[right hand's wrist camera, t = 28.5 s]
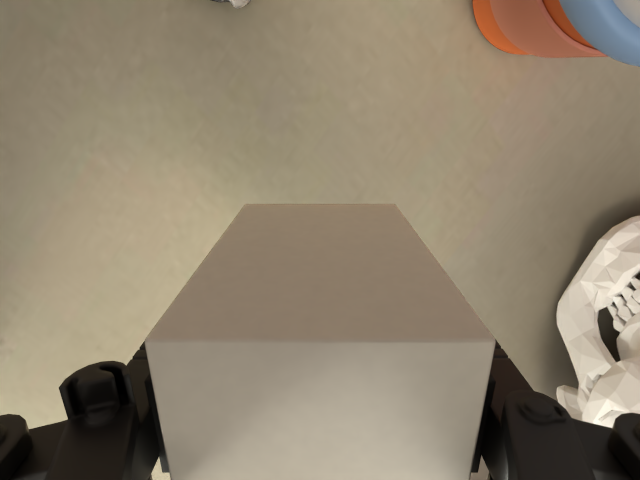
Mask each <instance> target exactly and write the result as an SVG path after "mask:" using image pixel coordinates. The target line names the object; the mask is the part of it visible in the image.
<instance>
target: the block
mask: <svg viewBox="0 0 640 480" xmlns="http://www.w3.org/2000/svg"><path fill="white" fill-rule="evenodd" d="M495 343H496V341H495V338H494V337H493V335H492V334H491V333H490V331H489V330H488V329H487V327H486V326H485V325H484V323H483V322H482V321H481V319H480V318H479V317H478V315H477V314H476V313H475V311H474V310H473V308H472V307H471V306H470V304H469V303H468V302H467V300H466V299H465V298H464V296H463V295H462V294H461V292H460V291H459V290H458V288H457V287H456V286H455V284H454V283H453V282H452V280H451V279H450V277H449V276H448V275H447V273H446V272H445V271H444V269H443V268H442V267H441V265H440V264H439V263H438V261H437V260H436V259H435V257H434V256H433V255H432V253H431V252H430V251H429V249H428V248H427V247H426V245H425V244H424V242H423V241H422V240H421V238H420V237H419V236H418V234H417V233H416V232H415V230H414V229H413V228H412V226H411V225H410V224H409V222H408V221H407V220H406V218H405V217H404V216H403V214H402V213H401V212H400V210H399V209H398V207H397V206H396V205H395V204H245V205H244V206H243V208H242V209H241V210H240V212H239V213H238V214H237V216H236V217H235V219H234V220H233V221H232V223H231V224H230V225H229V227H228V228H227V229H226V231H225V232H224V233H223V235H222V236H221V237H220V239H219V240H218V241H217V243H216V244H215V246H214V247H213V248H212V250H211V251H210V252H209V254H208V255H207V256H206V258H205V259H204V260H203V262H202V263H201V264H200V266H199V267H198V268H197V270H196V271H195V273H194V274H193V275H192V277H191V278H190V279H189V281H188V282H187V283H186V285H185V286H184V287H183V289H182V290H181V291H180V293H179V294H178V295H177V297H176V298H175V300H174V301H173V302H172V304H171V305H170V306H169V308H168V309H167V310H166V312H165V313H164V314H163V316H162V317H161V318H160V320H159V321H158V322H157V324H156V325H155V327H154V328H153V329H152V331H151V332H150V333H149V335H148V336H147V337H146V339H145V347H146V353H147V358H148V363H149V368H150V373H151V379H152V384H153V389H154V394H155V399H156V405H157V410H158V415H159V420H160V425H161V431H162V436H163V441H164V446H165V451H166V457H167V462H168V467H169V472H170V477H171V480H470V475H471V469H472V464H473V459H474V454H475V448H476V443H477V438H478V433H479V427H480V422H481V417H482V412H483V406H484V401H485V396H486V391H487V385H488V380H489V375H490V370H491V364H492V359H493V354H494V349H495Z"/></svg>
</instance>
